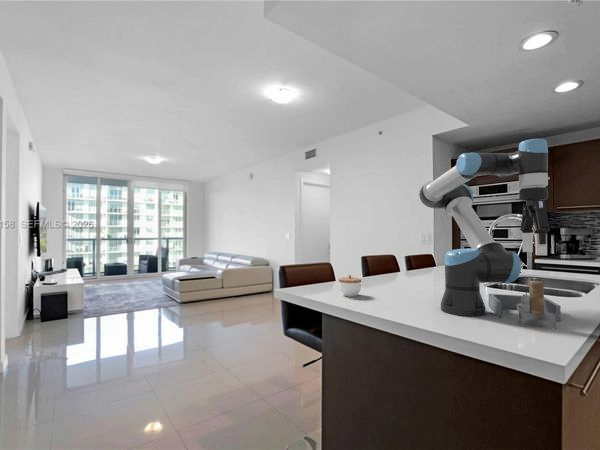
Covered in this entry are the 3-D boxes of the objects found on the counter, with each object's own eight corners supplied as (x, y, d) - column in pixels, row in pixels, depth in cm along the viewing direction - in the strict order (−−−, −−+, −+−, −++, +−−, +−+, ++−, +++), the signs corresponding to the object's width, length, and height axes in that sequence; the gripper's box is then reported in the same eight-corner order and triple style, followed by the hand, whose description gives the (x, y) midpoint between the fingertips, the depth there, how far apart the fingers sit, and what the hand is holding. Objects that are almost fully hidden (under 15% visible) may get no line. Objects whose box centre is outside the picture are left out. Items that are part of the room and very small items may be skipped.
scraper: (521, 325, 102) (520, 281, 102) (519, 323, 104) (518, 280, 105) (556, 328, 98) (555, 283, 99) (552, 325, 101) (551, 281, 101)
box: (497, 315, 113) (497, 301, 113) (488, 306, 127) (488, 293, 127) (560, 320, 106) (560, 305, 107) (544, 310, 121) (544, 296, 121)
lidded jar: (345, 292, 158) (345, 273, 158) (365, 294, 151) (365, 274, 151) (334, 295, 149) (334, 275, 149) (355, 298, 143) (355, 277, 143)
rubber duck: (539, 315, 113) (538, 293, 114) (526, 317, 111) (525, 294, 111) (524, 311, 119) (524, 290, 119) (511, 313, 116) (511, 291, 117)
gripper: (563, 182, 90) (564, 257, 90) (534, 191, 113) (535, 250, 113) (531, 183, 93) (532, 256, 92) (510, 192, 116) (510, 250, 116)
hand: (534, 253), depth 103 cm, fingers open, 13 cm apart
